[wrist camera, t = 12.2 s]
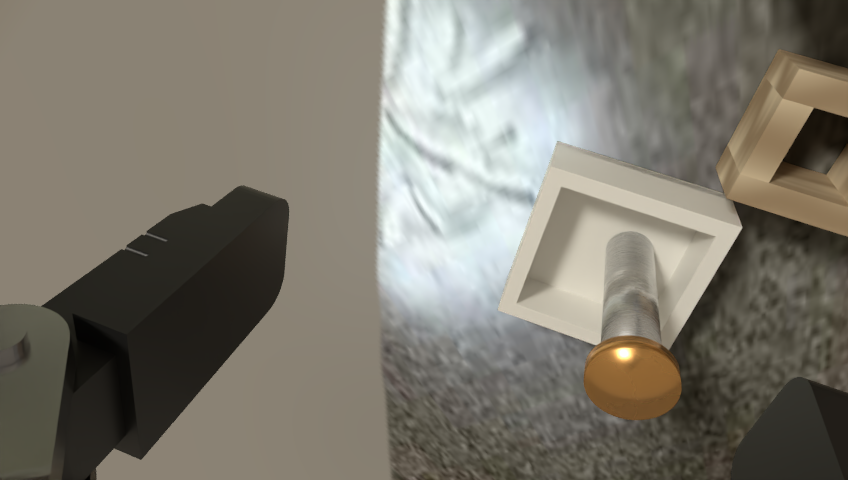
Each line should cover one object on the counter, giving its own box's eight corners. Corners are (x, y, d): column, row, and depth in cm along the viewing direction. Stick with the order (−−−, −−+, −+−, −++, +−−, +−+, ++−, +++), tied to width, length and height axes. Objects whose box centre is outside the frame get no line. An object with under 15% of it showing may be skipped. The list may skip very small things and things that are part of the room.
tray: (557, 140, 38) (550, 166, 34) (730, 195, 36) (742, 227, 33) (507, 276, 44) (497, 310, 40) (655, 327, 42) (658, 367, 39)
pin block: (778, 49, 32) (799, 68, 28) (918, 88, 31) (959, 113, 27) (715, 167, 36) (726, 198, 32) (838, 205, 35) (863, 241, 31)
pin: (609, 212, 38) (603, 335, 27) (677, 234, 38) (698, 369, 27) (585, 266, 41) (570, 399, 30) (648, 288, 40) (657, 432, 29)
